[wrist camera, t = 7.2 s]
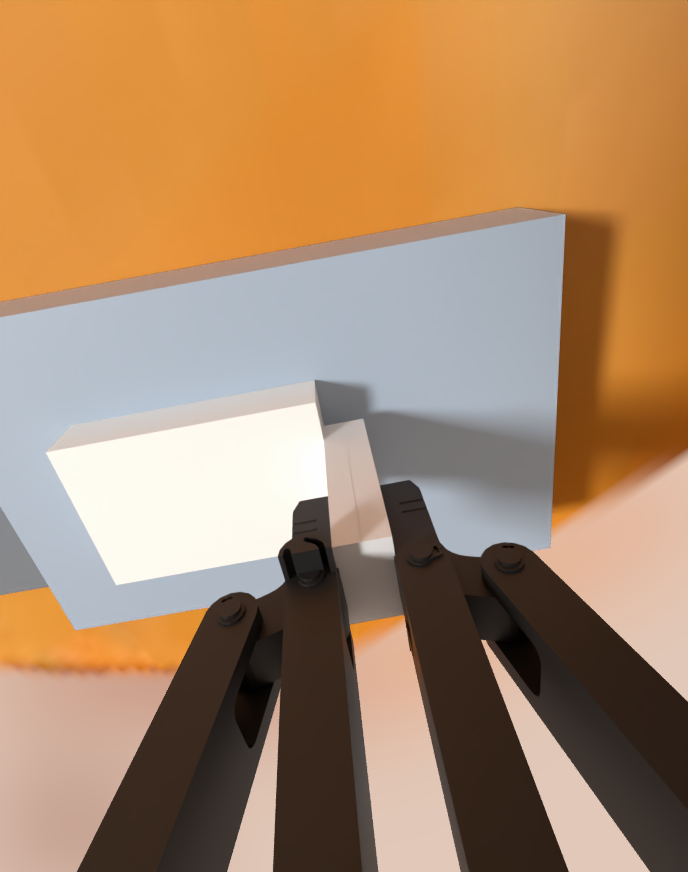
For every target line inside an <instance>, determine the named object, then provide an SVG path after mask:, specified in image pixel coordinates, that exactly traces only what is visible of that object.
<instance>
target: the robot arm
mask: <svg viewBox="0 0 688 872" xmlns="http://www.w3.org/2000/svg"><path fill="white" fill-rule="evenodd" d="M323 438H324V452H325V465H326V478H327V491H328V496H325V497H320V498H314V499H309V500H303V501H299V503H298V505H297V506H296V508H295V509H294V511H293V520H292V524H293V526H292V539H291V540H289V541H288V542H286V543H285V544H284V545H283V546H282V548H281V549H280V551H279V554H278V559H279V563H280V566H281V569H282V572H283V576H284V579H285V582H284V583H283V584H282V585H281V586H280V587H279V588H277V589H276V590H274V591H272V592H271V593H269V594H267V595H264V596H262V597H260V598H258V599H256V598H255V597H253V596H252V595H251V594H249V593H245V592H235V593H230V594H228V595H225V596H223V597H221V598H219V599H218V600H217V601H216V602H214V603H213V604H212V605H211V606H210V608H209V609H208V611H207V612H206V614H205V616H204V618H203V620H202V622H201V624H200V626H199V628H198V630H197V632H196V634H195V636H194V638H193V640H192V642H191V644H190V646H189V648H188V650H187V652H186V654H185V656H184V658H183V660H182V662H181V664H180V666H179V668H178V670H177V672H176V674H175V676H174V678H173V680H172V682H171V684H170V686H169V688H168V690H167V692H166V694H165V696H164V698H163V700H162V702H161V704H160V706H159V708H158V710H157V712H156V714H155V716H154V718H153V720H152V722H151V724H150V726H149V728H148V730H147V732H146V734H145V736H144V738H143V740H142V742H141V744H140V746H139V748H138V750H137V752H136V754H135V756H134V758H133V760H132V762H131V765H130V766H129V768H128V770H127V772H126V774H125V777H124V779H123V780H122V782H121V785H120V786H119V788H118V790H117V792H116V794H115V796H114V798H113V801H112V802H111V804H110V807H109V808H108V810H107V813H106V815H105V816H104V819H103V820H102V822H101V825H100V827H99V829H98V831H97V832H96V835H95V837H94V838H93V841H92V843H91V845H90V847H89V849H88V851H87V853H86V855H85V857H84V859H83V861H82V863H81V865H80V867H79V869H78V871H77V872H227V870H228V866H229V863H230V860H231V856H232V853H233V849H234V846H235V842H236V839H237V835H238V832H239V829H240V825H241V822H242V818H243V815H244V811H245V808H246V805H247V801H248V798H249V794H250V790H251V787H252V784H253V780H254V777H255V774H256V770H257V767H258V763H259V760H260V756H261V753H262V749H263V746H264V742H265V739H266V736H267V732H268V729H269V725H270V722H271V718H272V715H273V711H274V708H275V705H276V701H277V698H278V694H279V691H280V688H281V692H280V716H279V717H280V718H279V741H278V742H279V743H278V767H277V789H276V813H275V837H274V860H273V872H378V865H377V857H376V847H375V838H374V829H373V820H372V811H371V801H370V793H369V783H368V774H367V765H366V755H365V746H364V737H363V728H362V720H361V711H360V700H359V691H358V682H357V673H356V664H355V655H354V646H353V639H352V635H351V631H350V624H355V623H360V622H366V621H371V620H377V619H382V618H388V617H394V616H399V615H404V616H405V622H406V628H407V634H408V641H409V647H410V651H412V656H413V660H414V665H415V669H416V674H417V678H418V682H419V687H420V691H421V696H422V700H423V705H424V709H425V713H426V718H427V723H428V727H429V732H430V736H431V740H432V745H433V749H434V754H435V758H436V763H437V767H438V772H439V776H440V781H441V785H442V789H443V794H444V799H445V803H446V807H447V812H448V816H449V821H450V825H451V830H452V834H453V838H454V843H455V847H456V852H457V857H458V861H459V866H460V870H461V872H569V871H568V868H567V866H566V863H565V861H564V858H563V855H562V853H561V850H560V847H559V845H558V842H557V840H556V837H555V834H554V832H553V829H552V826H551V824H550V821H549V819H548V816H547V813H546V810H545V808H544V805H543V802H542V800H541V797H540V795H539V792H538V789H537V787H536V784H535V781H534V779H533V776H532V774H531V771H530V768H529V766H528V763H527V760H526V758H525V755H524V752H523V750H522V747H521V744H520V742H519V739H518V736H517V734H516V731H515V729H514V726H513V723H512V721H511V718H510V715H509V713H508V710H507V707H506V705H505V702H504V700H503V697H502V694H501V692H500V689H499V686H498V684H497V681H496V679H495V676H494V673H493V670H492V668H491V665H490V663H489V660H488V657H487V655H486V652H485V649H484V647H483V644H482V642H481V640H486V641H487V643H488V645H489V647H490V648H491V650H492V651H493V652H494V654H495V655H496V657H497V658H498V659H499V661H500V662H501V664H502V665H503V666H504V667H505V669H506V671H507V672H508V673H509V675H510V676H511V678H512V679H513V680H514V682H515V683H516V684H517V686H518V687H519V689H520V690H521V691H522V693H523V694H524V696H525V697H526V698H527V700H528V701H529V703H530V704H531V706H532V707H533V708H534V710H535V711H536V712H537V714H538V715H539V717H540V718H541V720H542V721H543V722H544V724H545V725H546V726H547V728H548V729H549V731H550V732H551V734H552V735H553V736H554V738H555V739H556V741H557V742H558V743H559V745H560V746H561V748H562V749H563V750H564V752H565V753H566V754H567V756H568V757H569V759H570V760H571V762H572V763H573V764H574V766H575V767H576V768H577V770H578V771H579V773H580V774H581V775H582V777H583V778H584V780H585V781H586V782H587V784H588V785H589V787H590V788H591V790H592V791H593V792H594V794H595V795H596V796H597V798H598V799H599V801H600V802H601V804H602V805H603V806H604V808H605V809H606V811H607V812H608V813H609V815H610V816H611V818H612V819H613V820H614V822H615V823H616V824H617V826H618V827H619V829H620V830H621V831H622V833H623V834H624V836H625V837H626V838H627V840H628V841H629V843H630V844H631V846H632V847H633V848H634V850H635V851H636V852H637V854H638V855H639V857H640V858H641V860H642V861H643V862H644V864H645V865H646V866H647V868H648V869H649V871H650V872H688V702H687V701H686V700H685V699H684V698H683V697H682V696H681V695H680V694H679V693H678V692H677V691H676V690H675V689H674V688H673V687H672V686H671V685H670V684H669V683H668V682H667V681H666V680H665V679H664V678H663V677H662V676H661V675H660V674H659V673H658V672H657V671H656V670H655V669H653V668H652V667H651V666H650V665H649V664H648V663H647V662H646V661H645V660H644V659H643V658H642V657H641V656H640V655H639V654H638V653H637V652H636V651H635V650H634V649H633V648H632V647H631V646H630V645H629V644H628V643H627V642H626V641H624V640H623V638H621V637H620V636H619V635H618V634H617V633H616V632H615V631H614V630H613V629H612V628H611V627H610V626H609V625H608V624H607V623H606V622H605V621H604V620H603V619H602V618H601V617H600V616H599V615H598V614H597V613H596V612H595V611H594V610H593V609H592V608H590V606H588V605H587V604H586V603H585V602H584V601H583V600H582V599H581V598H580V597H579V596H578V595H577V594H576V593H575V592H574V591H573V590H572V589H571V588H570V587H569V586H568V585H567V584H566V583H565V582H564V581H563V580H562V579H560V577H559V576H558V575H556V574H555V573H554V572H553V571H552V570H551V569H550V568H549V567H548V566H547V565H546V564H545V563H544V562H543V561H542V560H541V559H540V558H539V557H538V556H537V555H536V554H535V553H534V552H533V551H531V550H530V549H528V548H527V547H525V546H523V545H520V544H516V543H508V542H502V543H498V544H493V545H492V546H490V547H488V548H486V549H485V551H484V552H483V554H482V555H481V557H474V556H464V555H459V554H456V553H453V552H451V551H449V550H447V549H446V548H445V547H444V546H443V545H442V544H441V543H440V541H439V539H438V536H437V534H436V531H435V528H434V526H433V523H432V520H431V518H430V515H429V512H428V510H427V507H426V504H425V501H424V499H423V496H422V493H421V491H420V488H419V487H418V486H417V485H415V484H414V483H413V482H412V481H410V480H406V481H400V482H395V483H390V484H384V485H379V481H378V477H377V473H376V469H375V465H374V461H373V456H372V452H371V448H370V444H369V440H368V436H367V432H366V428H365V424H364V420H363V419H358V420H353V421H347V422H342V423H337V424H331V425H326V426H323ZM349 622H350V624H349Z"/></svg>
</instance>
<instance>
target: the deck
mask: <svg viewBox="0 0 688 872" xmlns="http://www.w3.org/2000/svg"><path fill="white" fill-rule="evenodd" d="M565 219H566V214H562V213H555V212H548V211H541V210H534V209H527V208H520V207H516V208H511V209H505V210H500V211H494V212H489V213H483V214H478V215H473V216H467V217H462V218H456V219H451V220H445V221H440V222H434V223H429V224H423V225H418V226H413V227H407V228H402V229H396V230H391V231H385V232H380V233H374V234H369V235H363V236H358V237H352V238H347V239H342V240H336V241H331V242H325V243H320V244H314V245H309V246H303V247H298V248H292V249H287V250H282V251H276V252H271V253H265V254H260V255H254V256H249V257H243V258H238V259H232V260H227V261H222V262H216V263H211V264H205V265H200V266H194V267H189V268H183V269H178V270H172V271H167V272H161V273H156V274H151V275H145V276H140V277H134V278H129V279H123V280H118V281H112V282H107V283H101V284H96V285H91V286H85V287H80V288H74V289H69V290H63V291H58V292H52V293H47V294H41V295H36V296H31V297H25V298H20V299H14V300H9V301H3V302H0V507H1V509H2V510H3V512H4V513H5V515H6V517H7V518H8V520H9V522H10V523H11V525H12V527H13V528H14V530H15V532H16V533H17V535H18V537H19V538H20V540H21V541H22V543H23V545H24V546H25V548H26V550H27V551H28V553H29V555H30V556H31V558H32V560H33V561H34V563H35V564H36V566H37V568H38V569H39V571H40V573H41V574H42V576H43V578H44V579H45V581H46V583H47V584H48V586H49V588H50V589H51V591H52V592H53V594H54V596H55V597H56V599H57V601H58V602H59V604H60V606H61V607H62V609H63V611H64V612H65V614H66V615H67V617H68V619H69V620H70V622H71V624H72V625H73V627H74V629H75V630H80V629H86V628H91V627H97V626H103V625H109V624H114V623H120V622H126V621H132V620H137V619H143V618H149V617H155V616H160V615H166V614H172V613H178V612H183V611H189V610H195V609H201V608H207V607H210V606H211V605H212V604H213V603H214V602H216V601H217V600H218V599H219V598H221V597H223V596H225V595H228V594H230V593H235V592H245V593H249V594H251V595H252V596H253V597H255V598H256V599H258V598H260V597H262V596H264V595H267V594H269V593H271V592H272V591H274V590H276V589H277V588H279V587H280V586H281V585H282V584H283V583H284V582H285V579H284V576H283V572H282V569H281V566H280V563H279V559H278V556H276V557H270V558H265V559H259V560H254V561H248V562H242V563H237V564H231V565H226V566H220V567H215V568H209V569H204V570H198V571H192V572H187V573H181V574H176V575H170V576H165V577H159V578H153V579H148V580H142V581H137V582H131V583H126V584H120V585H116V584H115V582H114V580H113V578H112V577H111V575H110V573H109V571H108V569H107V567H106V565H105V563H104V561H103V560H102V558H101V556H100V554H99V552H98V550H97V548H96V546H95V544H94V543H93V541H92V539H91V537H90V535H89V533H88V531H87V529H86V527H85V526H84V524H83V522H82V520H81V518H80V516H79V514H78V512H77V510H76V509H75V507H74V505H73V503H72V501H71V499H70V497H69V495H68V494H67V492H66V490H65V488H64V486H63V484H62V482H61V480H60V478H59V477H58V475H57V473H56V471H55V469H54V467H53V465H52V463H51V461H50V460H49V458H48V456H47V454H46V452H47V451H48V449H49V448H50V447H51V446H52V445H53V444H54V443H55V442H56V441H57V440H58V439H59V438H60V437H61V436H62V435H63V434H64V432H65V431H66V430H67V429H68V428H69V427H70V426H71V425H76V424H81V423H86V422H92V421H97V420H102V419H108V418H113V417H118V416H124V415H129V414H135V413H140V412H145V411H151V410H156V409H161V408H167V407H172V406H178V405H183V404H188V403H194V402H199V401H204V400H210V399H215V398H221V397H226V396H231V395H237V394H242V393H247V392H253V391H258V390H263V389H269V388H274V387H280V386H285V385H290V384H296V383H301V382H306V381H312V380H315V385H316V390H317V394H318V399H319V404H320V408H321V413H322V418H323V423H324V426H326V425H331V424H337V423H342V422H347V421H353V420H358V419H363V420H364V424H365V428H366V432H367V436H368V440H369V444H370V448H371V452H372V456H373V461H374V465H375V469H376V473H377V477H378V481H379V485H384V484H390V483H395V482H400V481H406V480H410V481H412V482H413V483H414V484H415V485H417V486H418V487H419V488H420V491H421V493H422V496H423V499H424V501H425V504H426V507H427V510H428V512H429V515H430V518H431V520H432V523H433V526H434V528H435V531H436V534H437V536H438V539H439V541H440V543H441V544H442V545H443V546H444V547H445V548H446V549H447V550H449V551H451V552H453V553H456V554H459V555H464V556H474V557H481V555H482V554H483V552H484V551H485V549H486V548H488V547H490V546H492V545H493V544H498V543H502V542H508V543H516V544H520V545H523V546H525V547H527V548H528V549H530V550H531V551H535V550H540V549H546V548H550V544H551V523H552V501H553V479H554V458H555V436H556V414H557V392H558V371H559V349H560V327H561V306H562V284H563V262H564V240H565Z"/></svg>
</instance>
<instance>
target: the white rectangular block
mask: <svg viewBox="0 0 688 872" xmlns="http://www.w3.org/2000/svg"><path fill="white" fill-rule="evenodd" d="M323 426H324V423H323V418H322V413H321V408H320V404H319V399H318V394H317V390H316V385H315V380H312V381H306V382H301V383H296V384H290V385H285V386H280V387H274V388H269V389H263V390H258V391H253V392H247V393H242V394H237V395H231V396H226V397H221V398H215V399H210V400H204V401H199V402H194V403H188V404H183V405H178V406H172V407H167V408H161V409H156V410H151V411H145V412H140V413H135V414H129V415H124V416H118V417H113V418H108V419H102V420H97V421H92V422H86V423H81V424H76V425H71V426H70V427H69V428H68V429H67V430H66V431H65V432H64V434H63V435H62V436H61V437H60V438H59V439H58V440H57V441H56V442H55V443H54V444H53V445H52V446H51V447H50V448H49V449H48V451H47V452H46V454H47V456H48V458H49V460H50V461H51V463H52V465H53V467H54V469H55V471H56V473H57V475H58V477H59V478H60V480H61V482H62V484H63V486H64V488H65V490H66V492H67V494H68V495H69V497H70V499H71V501H72V503H73V505H74V507H75V509H76V510H77V512H78V514H79V516H80V518H81V520H82V522H83V524H84V526H85V527H86V529H87V531H88V533H89V535H90V537H91V539H92V541H93V543H94V544H95V546H96V548H97V550H98V552H99V554H100V556H101V558H102V560H103V561H104V563H105V565H106V567H107V569H108V571H109V573H110V575H111V577H112V578H113V580H114V582H115V584H116V585H120V584H126V583H131V582H137V581H142V580H148V579H153V578H159V577H165V576H170V575H176V574H181V573H187V572H192V571H198V570H204V569H209V568H215V567H220V566H226V565H231V564H237V563H242V562H248V561H254V560H259V559H265V558H270V557H276V556H278V554H279V551H280V549H281V548H282V546H283V545H284V544H285V543H286V542H288V541H289V540H291V539H292V526H293V524H292V520H293V511H294V509H295V508H296V506H297V505H298V503H299V501H303V500H309V499H314V498H320V497H325V496H328V491H327V478H326V465H325V452H324V438H323Z"/></svg>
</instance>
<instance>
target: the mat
mask: <svg viewBox="0 0 688 872" xmlns="http://www.w3.org/2000/svg"><path fill="white" fill-rule="evenodd" d="M43 587H49V586H48V584H47V583H46V581H45V579H44V578H43V576H42V574H41V573H40V571H39V569H38V568H37V566H36V564H35V563H34V561H33V560H32V558H31V556H30V555H29V553H28V551H27V550H26V548H25V546H24V545H23V543H22V541H21V540H20V538H19V537H18V535H17V533H16V532H15V530H14V528H13V527H12V525H11V523H10V522H9V520H8V518H7V517H6V515H5V513H4V512H3V510H2V509H1V507H0V595H3V594H9V593H15V592H21V591H26V590H32V589H38V588H43Z"/></svg>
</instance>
